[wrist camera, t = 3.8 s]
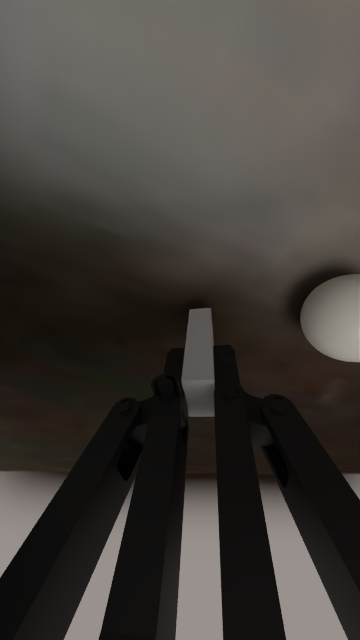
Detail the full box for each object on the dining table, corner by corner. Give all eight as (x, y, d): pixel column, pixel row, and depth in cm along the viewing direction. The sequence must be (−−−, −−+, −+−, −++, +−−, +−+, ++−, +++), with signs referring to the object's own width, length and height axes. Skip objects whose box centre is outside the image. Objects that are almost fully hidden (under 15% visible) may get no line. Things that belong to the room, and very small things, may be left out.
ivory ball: (276, 290, 16) (305, 335, 12) (358, 245, 14) (433, 277, 9) (306, 338, 18) (340, 392, 14) (381, 305, 16) (452, 356, 12)
